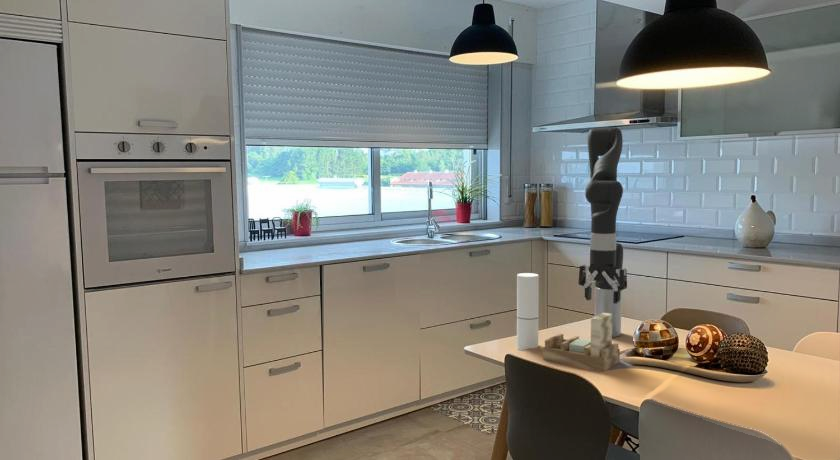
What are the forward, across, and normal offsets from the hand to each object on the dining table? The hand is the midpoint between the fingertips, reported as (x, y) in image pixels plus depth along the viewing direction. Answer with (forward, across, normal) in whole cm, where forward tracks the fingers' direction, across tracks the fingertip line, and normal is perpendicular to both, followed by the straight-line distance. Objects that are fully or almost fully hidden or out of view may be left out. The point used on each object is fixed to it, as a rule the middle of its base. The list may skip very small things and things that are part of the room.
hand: (602, 301), depth 195 cm
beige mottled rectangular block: (+19, 0, 0) cm, 19 cm away
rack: (+20, +6, 0) cm, 21 cm away
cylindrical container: (+21, +28, -5) cm, 35 cm away
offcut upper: (+16, +7, 0) cm, 18 cm away
